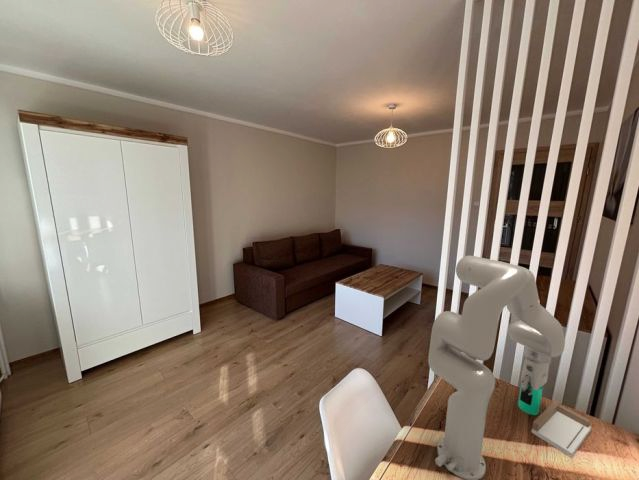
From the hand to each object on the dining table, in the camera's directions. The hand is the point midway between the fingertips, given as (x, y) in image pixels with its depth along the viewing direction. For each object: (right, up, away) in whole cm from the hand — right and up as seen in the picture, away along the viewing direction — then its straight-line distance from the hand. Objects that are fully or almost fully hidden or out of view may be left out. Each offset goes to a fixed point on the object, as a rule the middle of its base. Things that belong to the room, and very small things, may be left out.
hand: (529, 398), depth 96 cm
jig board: (+3, -6, -9) cm, 11 cm away
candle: (0, -5, +1) cm, 5 cm away
